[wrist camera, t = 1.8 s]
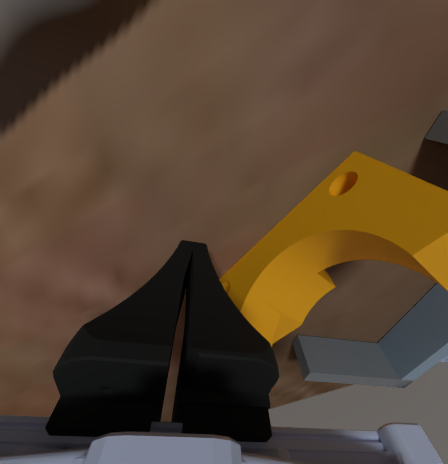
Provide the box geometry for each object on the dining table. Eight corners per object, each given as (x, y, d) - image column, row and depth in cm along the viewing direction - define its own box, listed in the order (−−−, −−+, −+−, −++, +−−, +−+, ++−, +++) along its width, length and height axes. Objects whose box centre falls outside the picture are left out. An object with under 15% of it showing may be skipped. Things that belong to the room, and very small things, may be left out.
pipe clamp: (253, 311, 17) (270, 411, 12) (209, 287, 16) (205, 389, 10) (397, 199, 13) (534, 282, 7) (353, 150, 11) (486, 207, 6)
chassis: (589, 152, 11) (698, 169, 9) (381, 351, 21) (404, 387, 18) (442, 110, 10) (518, 117, 8) (292, 342, 20) (303, 380, 17)
